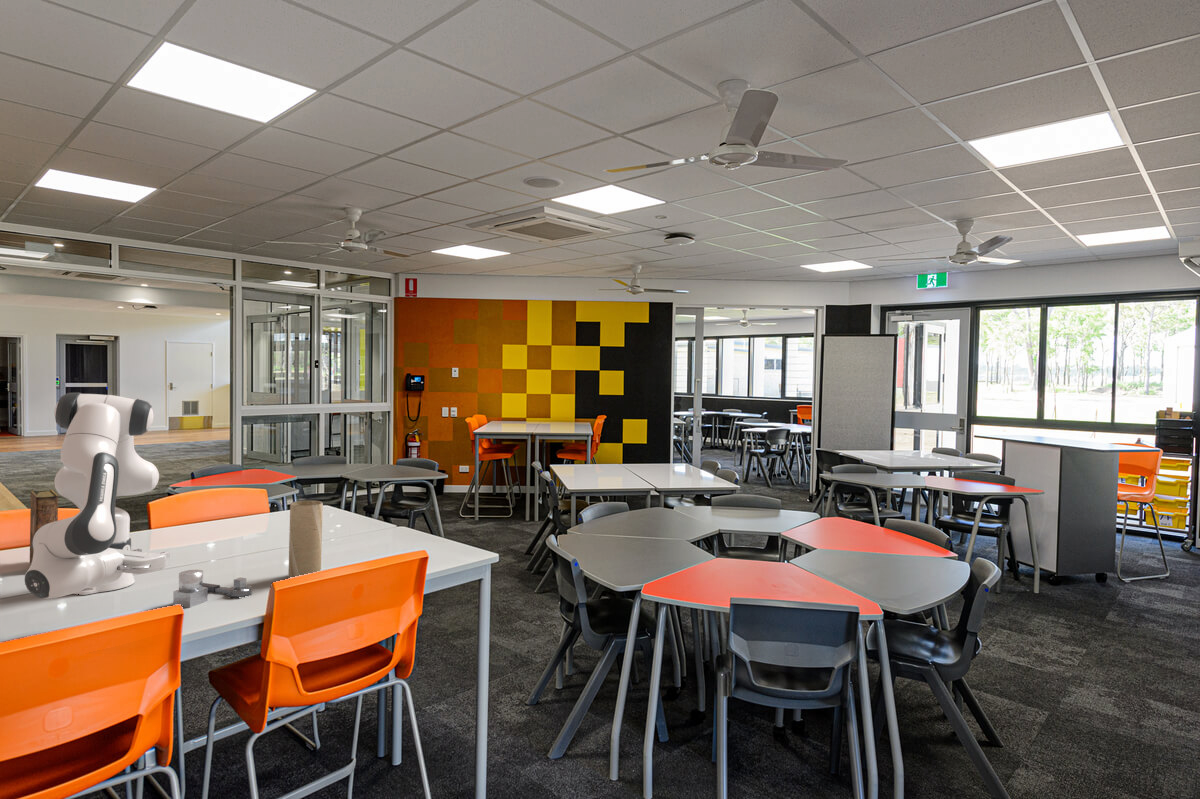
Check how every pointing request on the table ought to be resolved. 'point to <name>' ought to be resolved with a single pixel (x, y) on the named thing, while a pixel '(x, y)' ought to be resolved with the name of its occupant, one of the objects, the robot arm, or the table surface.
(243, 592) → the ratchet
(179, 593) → the grey block with cylinder
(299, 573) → the tube
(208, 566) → the table surface
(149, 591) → the table surface
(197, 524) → the table surface
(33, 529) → the book
